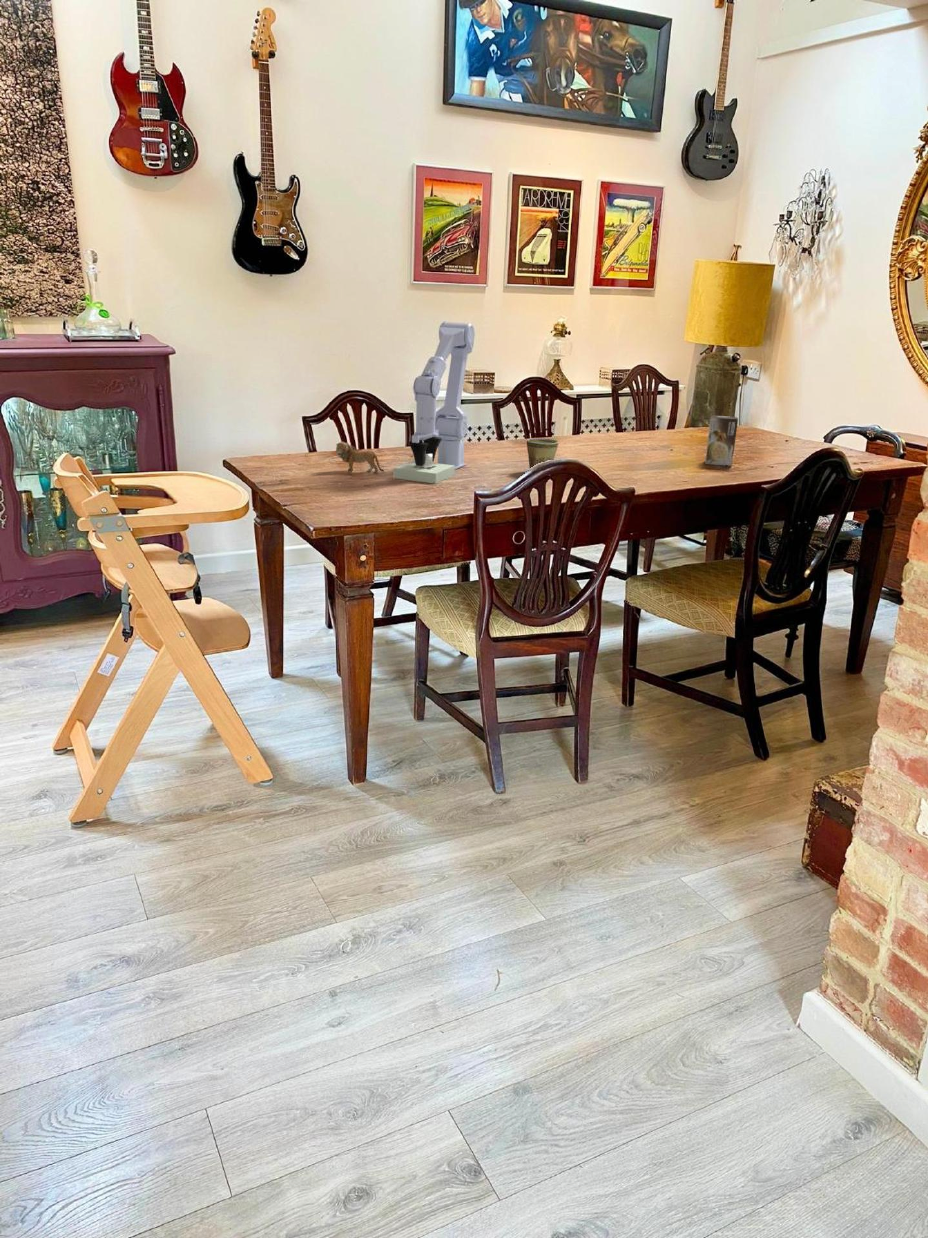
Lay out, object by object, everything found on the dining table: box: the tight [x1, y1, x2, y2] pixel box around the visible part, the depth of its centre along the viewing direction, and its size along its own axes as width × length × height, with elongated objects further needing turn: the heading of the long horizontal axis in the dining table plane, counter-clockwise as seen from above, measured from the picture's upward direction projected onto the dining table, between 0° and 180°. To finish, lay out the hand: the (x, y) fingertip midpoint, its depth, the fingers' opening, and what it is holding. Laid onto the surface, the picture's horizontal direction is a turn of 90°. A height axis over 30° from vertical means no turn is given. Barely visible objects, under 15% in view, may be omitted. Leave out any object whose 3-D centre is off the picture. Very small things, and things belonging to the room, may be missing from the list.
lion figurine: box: [335, 441, 385, 475], centre depth 266 cm, size 15×5×9 cm, turn 91°
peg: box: [419, 452, 434, 469], centre depth 263 cm, size 4×4×7 cm
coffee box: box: [704, 414, 739, 467], centre depth 302 cm, size 9×6×16 cm
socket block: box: [392, 460, 456, 484], centre depth 264 cm, size 14×14×3 cm
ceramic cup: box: [526, 437, 559, 469], centre depth 277 cm, size 13×10×10 cm
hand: (424, 463), depth 263 cm, fingers open, 7 cm apart
